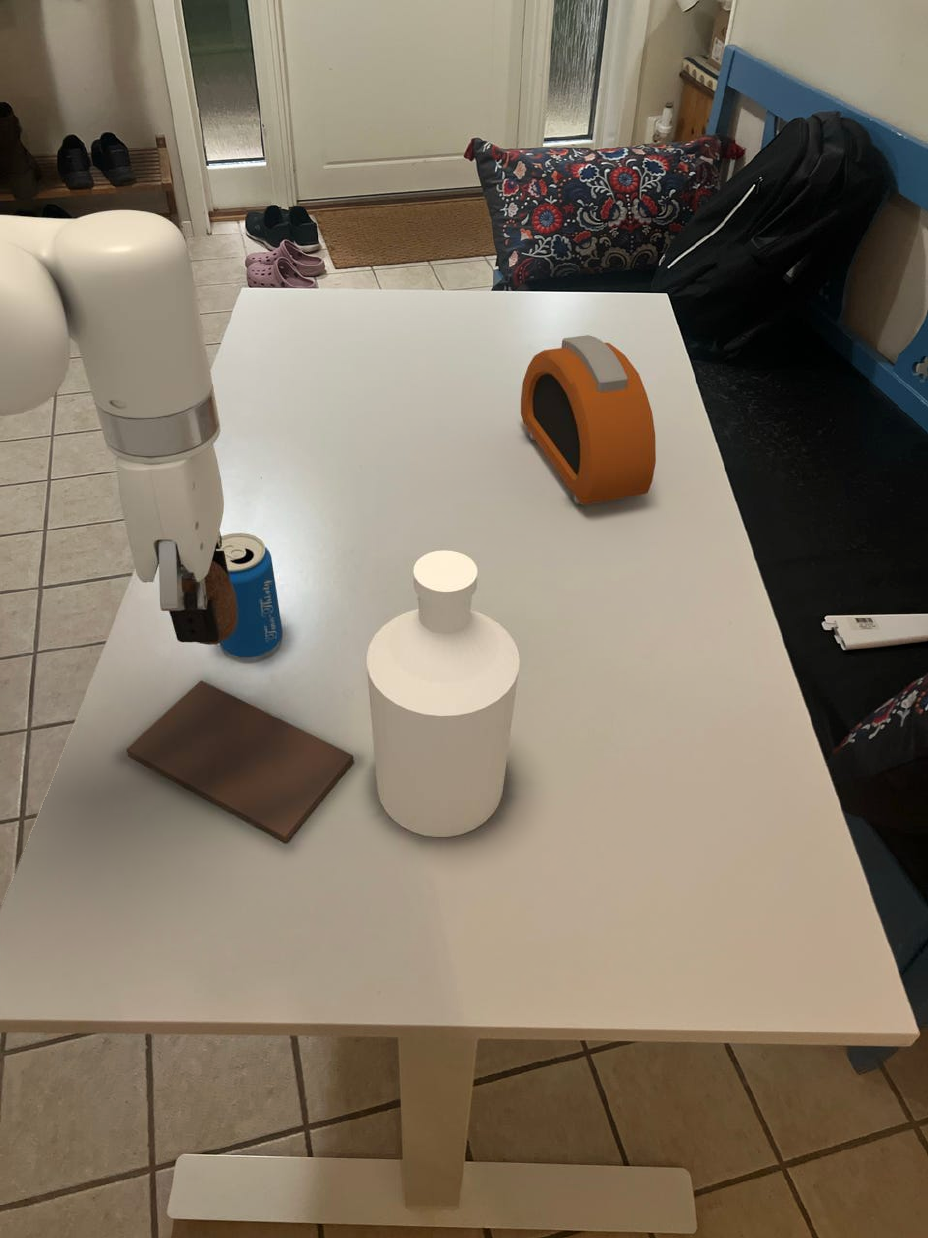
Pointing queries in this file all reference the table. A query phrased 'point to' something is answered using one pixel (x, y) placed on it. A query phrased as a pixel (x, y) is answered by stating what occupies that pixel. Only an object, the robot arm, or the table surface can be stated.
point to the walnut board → (242, 759)
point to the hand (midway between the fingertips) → (205, 612)
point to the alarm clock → (591, 419)
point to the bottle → (442, 703)
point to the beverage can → (252, 596)
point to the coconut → (218, 600)
